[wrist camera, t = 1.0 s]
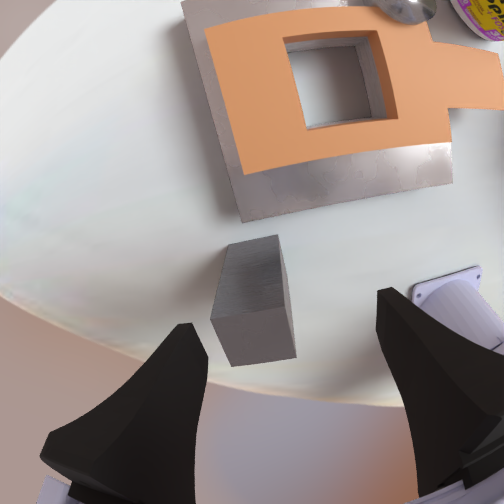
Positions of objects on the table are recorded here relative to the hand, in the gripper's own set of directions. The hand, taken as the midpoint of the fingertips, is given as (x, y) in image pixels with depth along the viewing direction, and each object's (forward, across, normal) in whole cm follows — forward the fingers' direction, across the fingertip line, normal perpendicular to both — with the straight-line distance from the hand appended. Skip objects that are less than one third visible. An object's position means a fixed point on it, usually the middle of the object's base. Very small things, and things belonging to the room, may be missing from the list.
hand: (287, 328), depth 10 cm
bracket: (+7, -8, -9) cm, 14 cm away
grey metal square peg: (+10, +2, +2) cm, 10 cm away
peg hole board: (+10, -5, -9) cm, 14 cm away
